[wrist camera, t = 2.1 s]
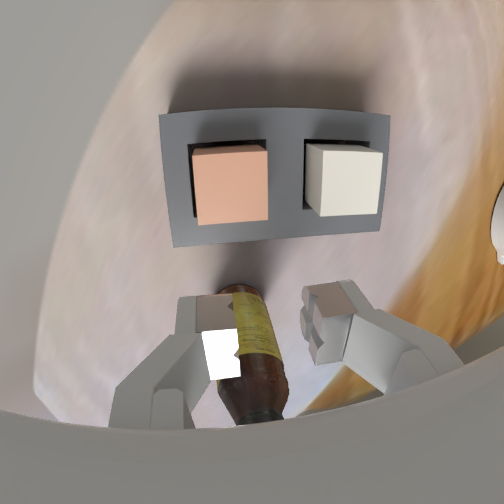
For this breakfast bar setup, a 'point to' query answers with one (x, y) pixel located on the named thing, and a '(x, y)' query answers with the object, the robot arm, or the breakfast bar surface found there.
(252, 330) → the sauce bottle
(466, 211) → the breakfast bar surface
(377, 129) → the keypad
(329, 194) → the cream key
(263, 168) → the terracotta key
